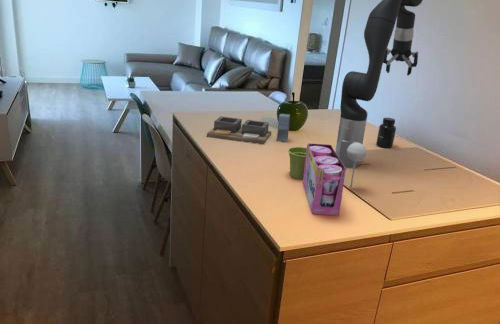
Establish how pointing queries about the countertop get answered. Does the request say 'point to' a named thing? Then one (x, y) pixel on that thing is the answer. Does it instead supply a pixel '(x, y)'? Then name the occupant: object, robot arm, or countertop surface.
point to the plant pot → (297, 161)
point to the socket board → (240, 130)
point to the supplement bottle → (386, 133)
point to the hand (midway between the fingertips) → (398, 73)
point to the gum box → (323, 179)
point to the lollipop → (356, 155)
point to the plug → (283, 127)
